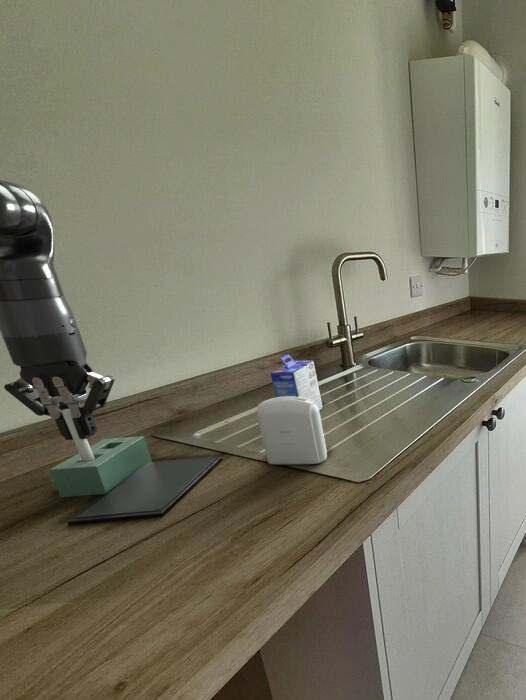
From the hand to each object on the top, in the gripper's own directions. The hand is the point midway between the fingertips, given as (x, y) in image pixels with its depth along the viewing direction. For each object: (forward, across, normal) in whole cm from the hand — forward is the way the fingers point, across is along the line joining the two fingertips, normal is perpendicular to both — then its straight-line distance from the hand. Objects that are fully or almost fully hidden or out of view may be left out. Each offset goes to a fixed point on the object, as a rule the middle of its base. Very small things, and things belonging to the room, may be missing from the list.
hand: (81, 437), depth 65 cm
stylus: (+8, 0, 0) cm, 8 cm away
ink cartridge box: (+9, +24, +25) cm, 36 cm away
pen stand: (+9, 0, +2) cm, 9 cm away
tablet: (+9, +10, -3) cm, 14 cm away
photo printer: (+9, +30, +3) cm, 32 cm away
